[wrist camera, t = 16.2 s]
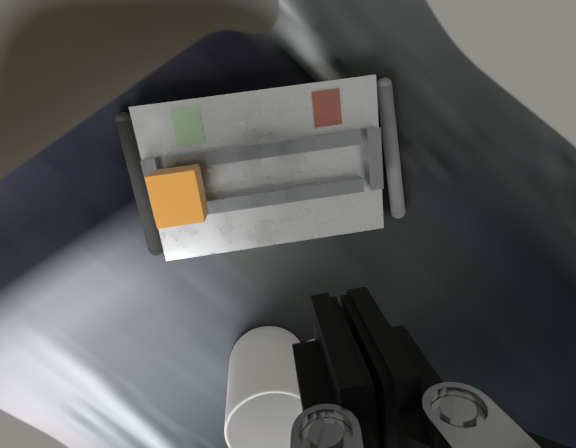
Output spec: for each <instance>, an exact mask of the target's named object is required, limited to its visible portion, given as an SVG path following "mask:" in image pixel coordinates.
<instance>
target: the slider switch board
mask: <svg viewBox="0 0 576 448" xmlns="http://www.w3.org/2000/svg"><path fill="white" fill-rule="evenodd" d="M128 108H129V112H130V116H131V120H132V124H133V128H134V132H135V136H136V140H137V144H138V149H139V153H140V157H141V161H140V163H141V167H142V172H143V176H144V180H145V177H146V176H147V175H148V174H150V173H151V172H152V171H154V170H158V169H165V168H172V167H179V166H187V165H194V164H199V165H200V170H201V175H202V180H203V185H204V190H205V195H206V200H207V205H208V210H209V212H208V214H207V217H206V220H205V222H201V223H194V224H187V225H181V226H174V227H167V228H160V229H158V230H159V234H160V238H161V242H162V246H163V251H164V255H165V259H166V261H171V260H177V259H184V258H190V257H197V256H203V255H210V254H217V253H223V252H230V251H236V250H243V249H249V248H256V247H263V246H269V245H276V244H282V243H289V242H296V241H302V240H309V239H315V238H322V237H328V236H335V235H342V234H348V233H355V232H361V231H368V230H374V229H381V228H384V220H383V200H382V189H384V182H383V162H382V142H381V127H379V122H378V102H377V83H376V75H368V76H360V77H353V78H345V79H338V80H330V81H323V82H315V83H307V84H300V85H292V86H285V87H277V88H269V89H262V90H254V91H247V92H239V93H232V94H224V95H216V96H209V97H201V98H194V99H186V100H179V101H171V102H163V103H156V104H148V105H141V106H133V107H128ZM145 184H146V181H145ZM146 188H147V185H146ZM147 192H148V189H147ZM148 196H149V193H148ZM149 200H150V197H149ZM150 204H151V201H150ZM151 208H152V206H151ZM152 212H153V210H152ZM153 216H154V214H153ZM154 220H155V218H154Z"/></svg>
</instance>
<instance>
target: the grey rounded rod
mask: <svg viewBox="0 0 576 448" xmlns="http://www.w3.org/2000/svg"><path fill="white" fill-rule="evenodd" d="M377 99H378V108H379V116H380V125H381V133H382V142H383V150H384V159H385V167H386V176H387V184H388V193H389V201H390V210H391V215H392V216H393V217H394V218H397V219H399V218H402V217H403V216H404V215H405V203H404V193H403V184H402V174H401V165H400V155H399V146H398V136H397V127H396V117H395V107H394V98H393V88H392V82H391V80H390V79H389V78H386V77H384V78H381V79H379V80H378V82H377Z"/></svg>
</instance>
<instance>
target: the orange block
mask: <svg viewBox="0 0 576 448" xmlns="http://www.w3.org/2000/svg"><path fill="white" fill-rule="evenodd" d="M145 181H146V185H147V189H148V193H149V197H150V201H151V206H152V210H153V214H154V218H155V222H156V226H157V229H160V228H167V227H174V226H181V225H187V224H194V223H201V222H205V220H206V217H207V214H208V212H209V210H208V205H207V200H206V195H205V190H204V185H203V180H202V175H201V170H200V165H199V164H194V165H187V166H179V167H172V168H165V169H158V170H154V171H152V172H151V173H150V174H148V175H147V176H146V177H145Z"/></svg>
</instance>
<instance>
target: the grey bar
mask: <svg viewBox="0 0 576 448" xmlns="http://www.w3.org/2000/svg"><path fill="white" fill-rule="evenodd" d="M115 121H116V125H117V129H118V133H119V137H120V141H121V145H122V149H123V153H124V156H125V160H126V164H127V168H128V172H129V176H130V180H131V184H132V187H133V191H134V195H135V199H136V203H137V207H138V211H139V215H140V218H141V222H142V226H143V230H144V234H145V238H146V242H147V246H148V249H149V252H150V253H151V254H153V255H159V254H161V253H162V252H163V246H162V242H161V238H160V234H159V230H158V229H157V226H156V222H155V220H154V216H153V212H152V208H151V204H150V200H149V196H148V192H147V188H146V184H145V180H144V176H143V172H142V167H141V163H140V161H141V157H140V153H139V149H138V144H137V140H136V136H135V132H134V128H133V124H132V120H131V116H130V114H128V113H126V112H120V113H118V114H117V115H116V118H115Z"/></svg>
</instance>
